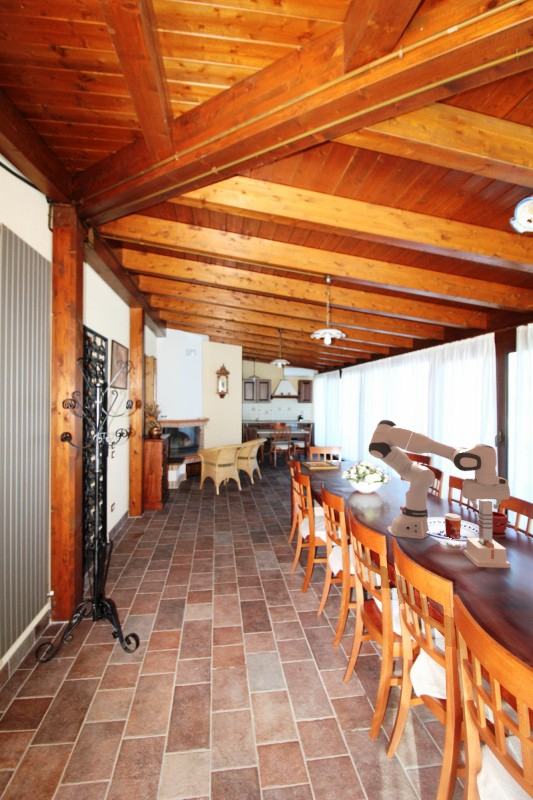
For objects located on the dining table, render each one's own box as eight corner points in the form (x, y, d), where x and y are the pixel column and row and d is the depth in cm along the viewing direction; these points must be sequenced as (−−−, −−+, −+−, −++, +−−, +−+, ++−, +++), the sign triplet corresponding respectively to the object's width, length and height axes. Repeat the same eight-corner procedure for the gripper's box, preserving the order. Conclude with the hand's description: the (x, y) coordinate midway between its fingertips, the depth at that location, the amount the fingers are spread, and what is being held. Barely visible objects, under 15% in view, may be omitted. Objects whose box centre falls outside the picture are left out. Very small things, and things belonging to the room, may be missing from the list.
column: (483, 549, 169) (483, 502, 169) (478, 545, 173) (478, 499, 173) (493, 549, 169) (493, 502, 169) (488, 545, 173) (488, 499, 173)
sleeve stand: (477, 566, 165) (477, 545, 165) (463, 553, 179) (463, 534, 179) (510, 567, 163) (510, 546, 163) (493, 554, 177) (493, 534, 177)
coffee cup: (455, 548, 185) (454, 518, 185) (440, 542, 192) (440, 514, 192) (465, 545, 189) (465, 516, 189) (451, 539, 196) (450, 512, 196)
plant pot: (512, 540, 195) (512, 517, 195) (485, 538, 198) (485, 516, 198) (501, 531, 208) (501, 510, 208) (476, 529, 211) (476, 509, 211)
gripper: (465, 480, 169) (465, 509, 169) (512, 480, 167) (512, 510, 167) (459, 477, 175) (459, 505, 175) (504, 477, 173) (504, 506, 173)
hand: (485, 508), depth 171 cm, fingers open, 8 cm apart
